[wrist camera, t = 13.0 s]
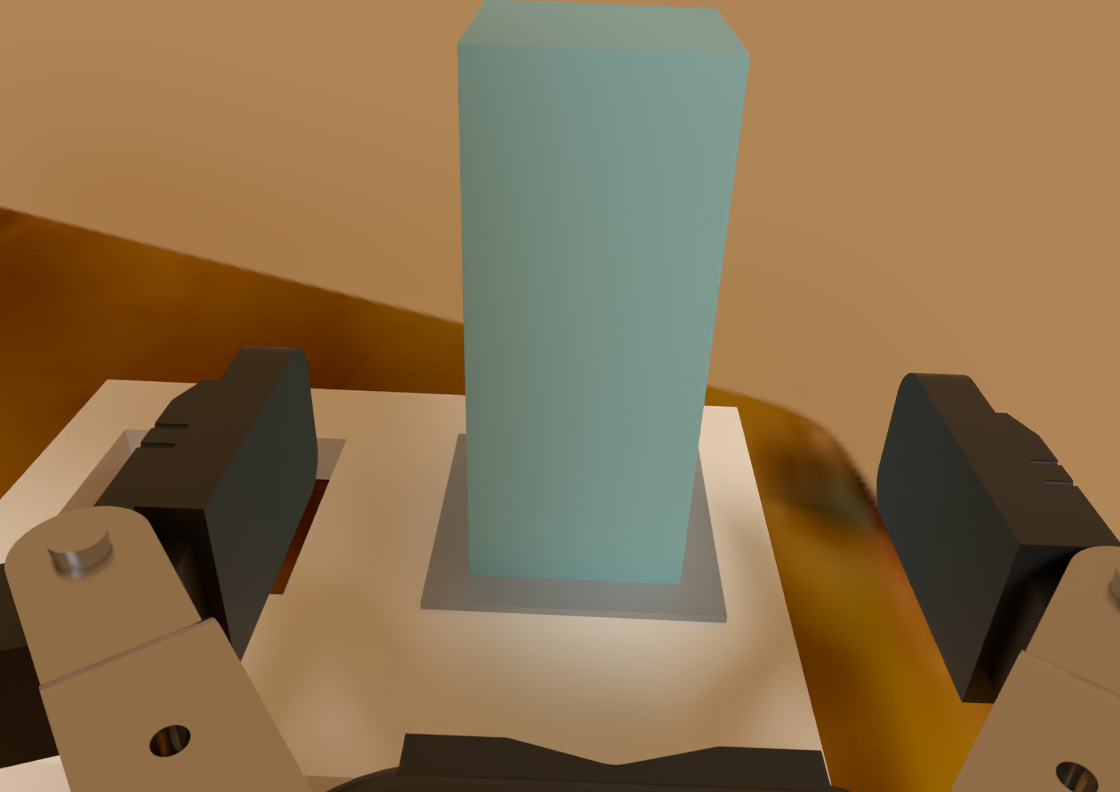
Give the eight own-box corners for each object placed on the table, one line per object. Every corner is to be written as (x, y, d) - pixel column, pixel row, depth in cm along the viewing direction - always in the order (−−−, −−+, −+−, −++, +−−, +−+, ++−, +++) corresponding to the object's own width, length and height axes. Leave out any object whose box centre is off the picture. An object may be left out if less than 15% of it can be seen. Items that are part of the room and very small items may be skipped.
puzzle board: (-193, 799, 18) (-228, 743, 18) (117, 419, 30) (106, 374, 30) (821, 849, 18) (837, 794, 17) (730, 446, 30) (737, 402, 29)
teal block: (469, 575, 22) (457, 43, 16) (489, 454, 26) (485, -1, 20) (680, 584, 22) (750, 55, 16) (665, 462, 26) (716, 8, 20)
